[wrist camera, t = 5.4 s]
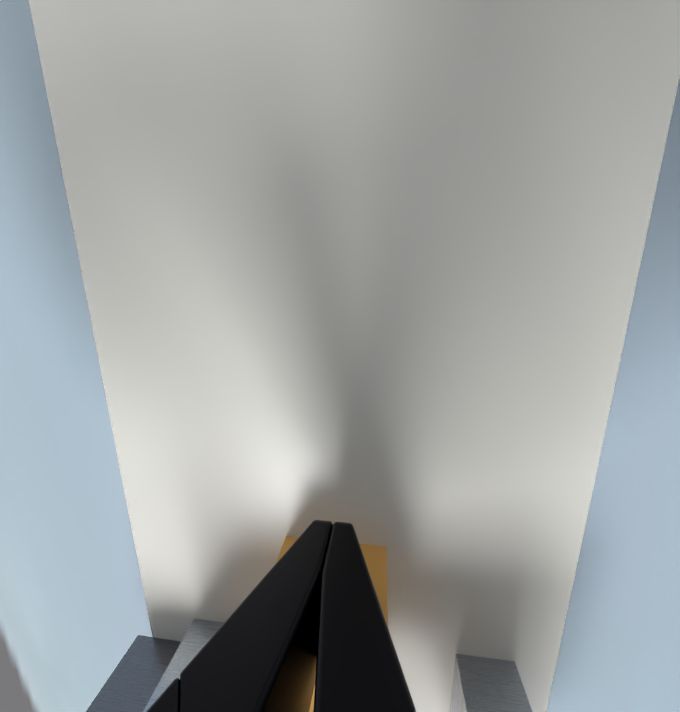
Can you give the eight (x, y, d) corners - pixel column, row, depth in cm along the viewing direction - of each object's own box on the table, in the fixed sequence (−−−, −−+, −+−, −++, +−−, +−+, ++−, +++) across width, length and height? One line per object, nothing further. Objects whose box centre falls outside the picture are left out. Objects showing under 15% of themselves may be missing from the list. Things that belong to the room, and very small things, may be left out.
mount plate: (720, -271, 5) (768, -350, 4) (474, 1001, 14) (478, 1033, 13) (30, -137, 6) (-7, -181, 5) (222, 934, 15) (215, 961, 14)
